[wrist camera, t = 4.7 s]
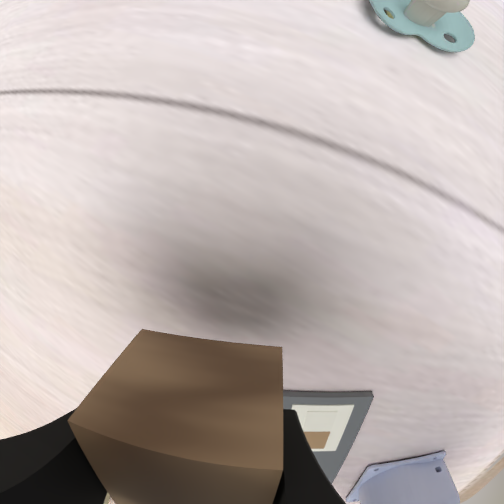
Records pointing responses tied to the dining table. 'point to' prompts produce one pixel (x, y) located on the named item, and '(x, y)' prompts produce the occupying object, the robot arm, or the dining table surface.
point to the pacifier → (428, 21)
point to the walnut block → (186, 422)
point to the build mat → (329, 423)
